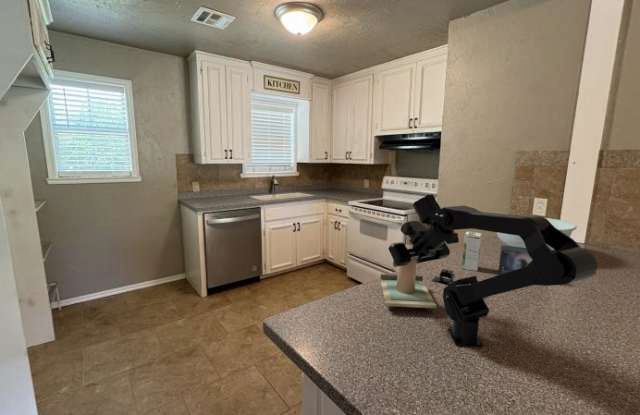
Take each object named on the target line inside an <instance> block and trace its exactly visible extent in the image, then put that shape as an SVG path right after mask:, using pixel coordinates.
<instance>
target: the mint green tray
mask: <svg viewBox="0 0 640 415" xmlns="http://www.w3.org/2000/svg"><path fill="white" fill-rule="evenodd" d="M423 279H424V277H423V275H419V274H418V275H416V279H415V292H414V293H411V294H405V293H401V292H399V291H398V290H397V274H393V273H391V274H390V273H389V274H386V273H384V274H383V273H381V274H380V285H381V289H382V292H383V297H384V301H385V302H384V303H385V307H387V309H388V311H393V310H394V307H397V308H398V307H399V308H401V307H402V308H419V309H420V308H421V309H423V308H424V309H425V310H426V312H428V313H429V312H430V313H431V312H432V310H433V309H437V304H436V302H435V300H434V298H433V297H432V294H431V293H430V291H429V290H428V288H427V286H426V285H425V283H424V281H423Z"/></svg>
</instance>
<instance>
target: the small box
mask: <svg viewBox="0 0 640 415" xmlns="http://www.w3.org/2000/svg"><path fill="white" fill-rule="evenodd" d="M531 261H532V258H531V257H530V256H529V254H528V252H527V249H526V248H523V247H514V246H509V245H507V244H501V245H500V254H499V266H498V275H501V274H504V273H507V272H510V271H513V270H516V269H519V268H523V267H525V266H526V265H527V264H528V263H529V262H531Z"/></svg>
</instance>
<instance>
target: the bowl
mask: <svg viewBox="0 0 640 415" xmlns="http://www.w3.org/2000/svg"><path fill="white" fill-rule="evenodd" d="M545 218H546V219H547V220H548V221H549V222H550V223H551V224H552V225H553V226H554V227H555V228H557V229H558V230H560V231H561V232H563V233H564V234H566V235H567V236H569V237H570V238H571V235H572V232H573V231H575V230H577V229H578V228H577V227H578V226H577V225H576V224H575V223H572V222H570V221H567V220H563V219H555V218H549V217H545ZM495 233H496V236H497V237H498V238H499V240H500V241H501V242H502V243H504V245H506V246H514V247H523V248H526V246H525V243H524V241H523V240H522V238H521V237H520V236H517V235H511V234H504V233H498V232H495ZM546 245H547V244H546ZM547 246H548V247H549V248H550V249H551V250H552V251H554V250H555V249H553V248H552V247H550V246H549V245H547Z"/></svg>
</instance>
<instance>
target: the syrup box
mask: <svg viewBox="0 0 640 415" xmlns="http://www.w3.org/2000/svg"><path fill="white" fill-rule="evenodd" d="M482 236H483V235H482V233H481V232H476V231H466V232H465V234H464V241H463V242H464V243H463V253H462V260H461V261H462V263H461V269H462V270H468V271H475V272H478V270H479V265H480V264H479V262H480V254H481V243H482Z"/></svg>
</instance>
